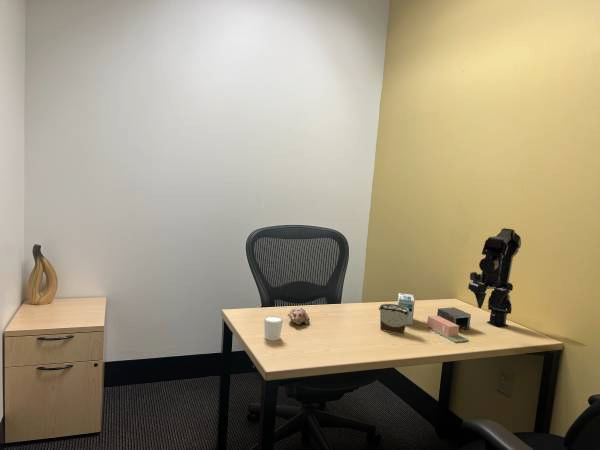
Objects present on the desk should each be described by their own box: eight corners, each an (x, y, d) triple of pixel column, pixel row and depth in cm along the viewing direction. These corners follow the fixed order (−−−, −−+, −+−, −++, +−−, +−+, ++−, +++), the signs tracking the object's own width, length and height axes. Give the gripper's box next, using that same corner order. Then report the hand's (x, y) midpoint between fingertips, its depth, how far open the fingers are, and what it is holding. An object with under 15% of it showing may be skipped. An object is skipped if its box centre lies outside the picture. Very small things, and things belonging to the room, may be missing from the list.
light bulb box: (412, 325, 195) (415, 300, 194) (396, 323, 196) (398, 298, 195) (411, 318, 205) (414, 294, 204) (396, 316, 207) (398, 292, 205)
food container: (410, 331, 188) (413, 307, 187) (407, 335, 182) (409, 310, 181) (380, 324, 193) (383, 301, 192) (376, 329, 187) (379, 305, 186)
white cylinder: (267, 341, 165) (268, 322, 164) (260, 335, 171) (261, 316, 170) (284, 339, 168) (286, 321, 168) (276, 333, 174) (278, 315, 174)
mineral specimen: (316, 323, 184) (309, 309, 182) (300, 333, 183) (292, 320, 181) (305, 313, 196) (298, 300, 193) (289, 323, 194) (282, 310, 192)
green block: (443, 329, 193) (443, 327, 193) (468, 341, 181) (468, 339, 181) (431, 330, 191) (431, 328, 191) (455, 342, 178) (455, 341, 178)
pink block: (436, 324, 197) (437, 315, 196) (458, 335, 185) (459, 325, 184) (427, 325, 195) (428, 316, 194) (448, 336, 183) (449, 326, 182)
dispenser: (452, 321, 204) (453, 307, 204) (469, 329, 195) (470, 314, 195) (436, 323, 201) (437, 308, 200) (452, 331, 192) (454, 315, 191)
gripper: (494, 264, 196) (489, 300, 198) (460, 265, 188) (456, 302, 190) (516, 270, 186) (511, 308, 188) (481, 271, 178) (476, 311, 180)
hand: (488, 307), depth 187 cm, fingers open, 9 cm apart
